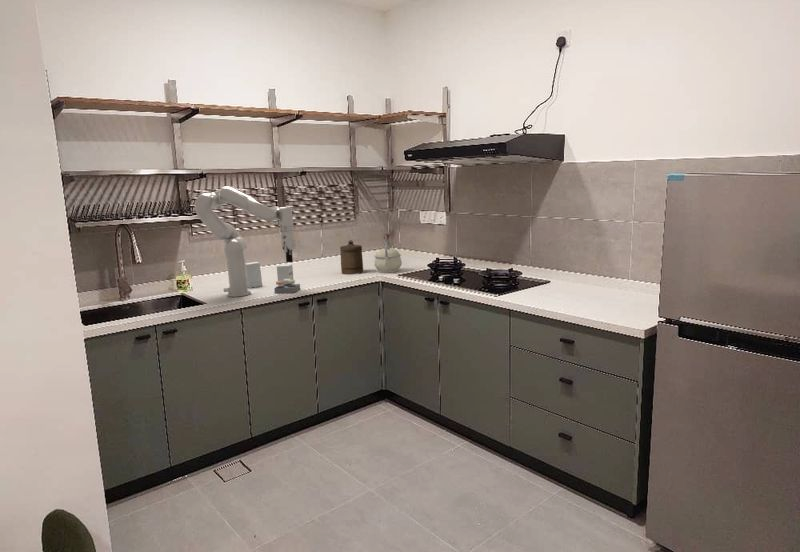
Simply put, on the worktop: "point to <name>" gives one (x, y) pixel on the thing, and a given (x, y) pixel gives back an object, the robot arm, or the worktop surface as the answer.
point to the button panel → (287, 288)
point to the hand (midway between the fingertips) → (289, 261)
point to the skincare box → (253, 274)
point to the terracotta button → (279, 282)
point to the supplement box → (285, 272)
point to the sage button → (291, 281)
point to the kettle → (387, 259)
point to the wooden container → (351, 258)
